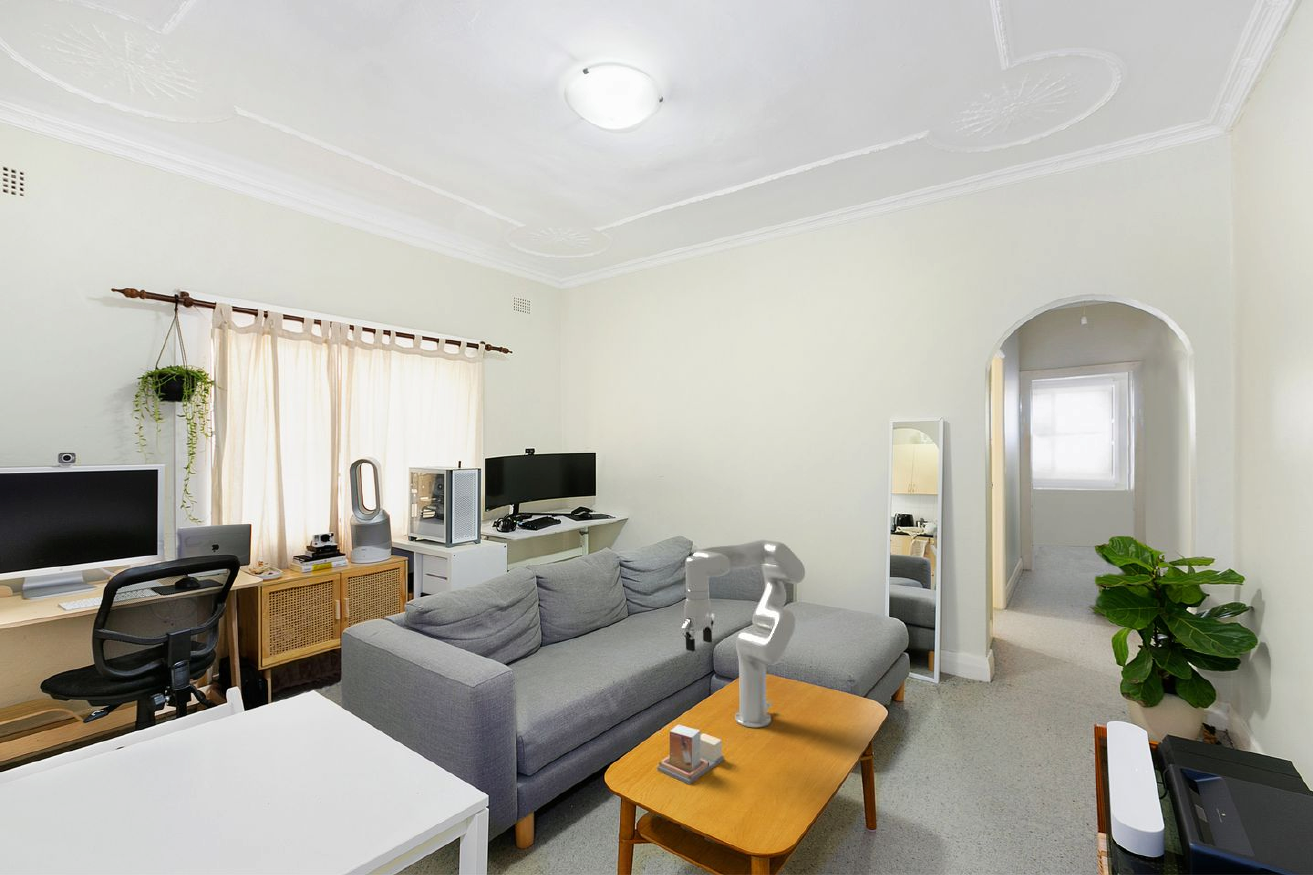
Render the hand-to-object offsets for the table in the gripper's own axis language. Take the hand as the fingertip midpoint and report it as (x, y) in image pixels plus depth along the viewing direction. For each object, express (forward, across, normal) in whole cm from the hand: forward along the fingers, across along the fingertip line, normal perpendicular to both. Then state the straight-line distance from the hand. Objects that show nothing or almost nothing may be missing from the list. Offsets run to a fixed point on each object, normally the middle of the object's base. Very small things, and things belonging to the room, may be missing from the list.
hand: (699, 645), depth 194 cm
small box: (+31, +16, +5) cm, 35 cm away
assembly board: (+32, +13, +5) cm, 35 cm away
